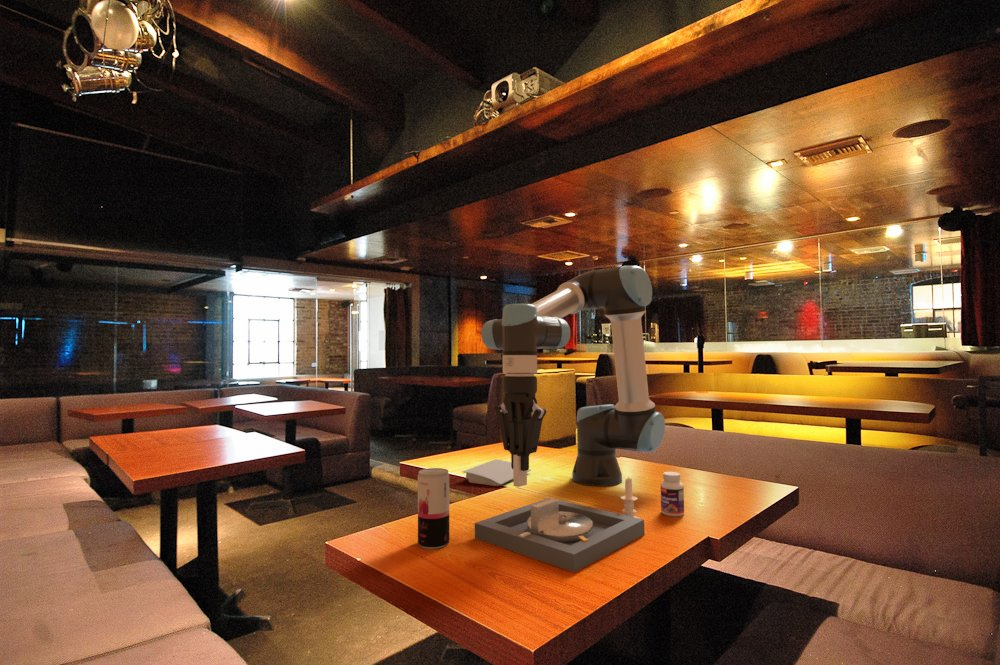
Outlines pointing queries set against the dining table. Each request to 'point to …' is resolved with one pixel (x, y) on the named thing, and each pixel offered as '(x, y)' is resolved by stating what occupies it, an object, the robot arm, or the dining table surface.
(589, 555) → the panel
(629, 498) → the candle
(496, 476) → the book
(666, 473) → the pill bottle
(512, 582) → the dining table surface
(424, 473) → the beverage can
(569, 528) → the dial
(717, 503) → the dining table surface
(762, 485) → the dining table surface
